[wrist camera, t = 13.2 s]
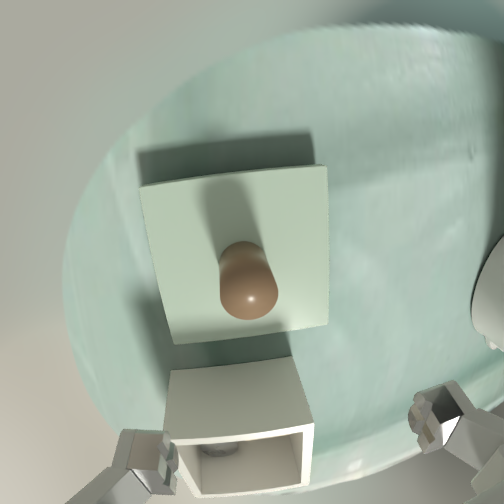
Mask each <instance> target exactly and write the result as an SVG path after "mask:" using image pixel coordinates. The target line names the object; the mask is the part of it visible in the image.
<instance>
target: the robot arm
mask: <svg viewBox="0 0 504 504" xmlns="http://www.w3.org/2000/svg"><path fill="white" fill-rule="evenodd" d="M472 322H473V325H474V327H475V329H476V330H477V331H478V332H479V333H481V334H482V335H484V336H485V340H486V344H487V346H488V347H490V348H491V349H496V348H499V349H501V350H502V351H503V352H504V236H503V237H502V238H501V240H500V241H499V242H498V243H497V245H496V246H495V248H494V249H493V251H492V252H491V254H490V256H489V258H488V259H487V261H486V263H485V265H484V267H483V270H482V272H481V274H480V277H479V279H478V282H477V285H476V289H475V292H474V296H473V302H472ZM413 400H414V402H415V403H414V404H413V405H412V406H411V407H410V410H409V413H408V421H409V425H410V427H411V429H412V432H414V433H416V434H418V435H419V436H418V440H417V442H418V443H419V445H420V447H421V449H422V451H423V453H424V454H427V453H429V452H432V451H435V450H437V449H440V448H442V447H444V448H445V449H446V450H448V451H449V452H451V453H452V454H454V455H455V456H457V457H458V458H460V459H461V460H463V461H465V462H466V463H467V464H469V465H471V466H472V467H474V468H475V469H477V470H478V471H479V472H478V474H477V475H476V476H475V477H474V478H473V479H472V482H471V485H472V487H473V489H474V491H475V494H476V497H474V498H472V499H470V500H468V501H467V502H465V503H463V504H504V419H503V418H500V417H498V416H496V415H493V414H491V413H489V412H487V411H485V410H482V409H480V408H478V409H476V408H475V407H474V406H473V404H472V403H471V401H470V400H469V399H468V397H467V396H466V394H465V393H464V392H463V390H462V389H461V388H460V386H459V385H458V383H457V382H456V381H454V380H450V381H448V382H445V383H443V384H439V385H436V386H433V387H431V388H428V389H425V390H422V391H419V392H417V393H416V394H415V395H414V398H413ZM170 440H171V436H170V434H169V432H168V431H158V430H138V429H123V430H122V432H121V433H120V437H119V440H118V444H117V448H116V452H115V455H114V459H113V462H112V466H111V467H107V468H106V469H105V470H103V471H102V472H101V473H100V474H99V475H98V476H97V477H95V478H94V479H93V480H92V481H91V482H90V483H89V484H87V485H86V486H85V487H84V488H83V489H82V490H81V491H79V492H78V493H77V494H76V495H74V496H73V497H72V498H71V499H70V500H69V501H67V502H66V503H65V504H145V503H146V502H147V501H148V499H149V498H150V497H151V494H158V495H176V486H177V478H176V476H175V475H174V472H175V471H176V470H177V469H178V466H179V456H178V451H177V447H176V445H175V444H174V443H173V442H171V441H170Z"/></svg>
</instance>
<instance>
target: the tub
mask: <svg viewBox="0 0 504 504" xmlns="http://www.w3.org/2000/svg"><path fill="white" fill-rule="evenodd" d="M163 431H168V432H169V434H170V436H171V440H170V441H171V442H173V443H174V444H175V445H176V447H177V451H178V456H179V466H178V470H179V472H180V474H181V475H182V477H183V479H184V480H185V482H186V484H187V485H188V487H189V488H190V490H191V492H192V493H193V495H194V496H195V498H209V497H226V496H238V495H248V494H257V493H265V492H272V491H278V490H285V489H290V488H296V487H301V486H306V485H309V479H310V469H311V459H312V448H313V435H314V420H313V417H312V414H311V411H310V408H309V405H308V402H307V399H306V396H305V393H304V390H303V387H302V384H301V381H300V378H299V375H298V372H297V369H296V365H295V362H294V359H293V356H289V357H283V358H277V359H270V360H263V361H256V362H249V363H241V364H233V365H224V366H215V367H205V368H195V369H183V370H171V373H170V380H169V387H168V394H167V402H166V409H165V417H164V425H163ZM286 434H290V435H286ZM280 435H284V436H280ZM273 436H278V437H273ZM267 437H272V438H267ZM260 438H265V439H260ZM252 439H258V440H252ZM246 440H250V441H246ZM235 441H238V450H237V451H236V452H235V453H234V454H232V455H229V456H225V457H214V456H210V455H207V454H205V453H204V452H203V451H202V450H201V444H213V443H225V442H235Z"/></svg>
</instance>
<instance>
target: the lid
mask: <svg viewBox="0 0 504 504" xmlns="http://www.w3.org/2000/svg"><path fill="white" fill-rule="evenodd" d="M139 193H140V199H141V204H142V210H143V216H144V221H145V226H146V231H147V236H148V241H149V246H150V251H151V255H152V260H153V264H154V269H155V273H156V278H157V282H158V286H159V290H160V294H161V298H162V302H163V306H164V310H165V314H166V318H167V322H168V325H169V329H170V333H171V336H172V340H173V343H174V345H179V344H189V343H200V342H209V341H218V340H227V339H235V338H243V337H250V336H258V335H265V334H272V333H278V332H285V331H291V330H297V329H303V328H309V327H315V326H321V325H326V324H328V312H329V209H328V181H327V166H325V165H322V164H315V165H301V166H288V167H277V168H266V169H256V170H246V171H237V172H229V173H220V174H212V175H205V176H197V177H190V178H183V179H176V180H170V181H163V182H157V183H151V184H145V185H142V186H141V187H139Z"/></svg>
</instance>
